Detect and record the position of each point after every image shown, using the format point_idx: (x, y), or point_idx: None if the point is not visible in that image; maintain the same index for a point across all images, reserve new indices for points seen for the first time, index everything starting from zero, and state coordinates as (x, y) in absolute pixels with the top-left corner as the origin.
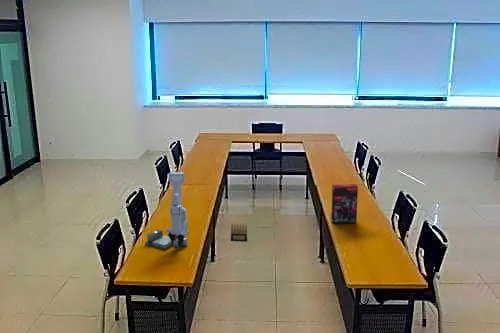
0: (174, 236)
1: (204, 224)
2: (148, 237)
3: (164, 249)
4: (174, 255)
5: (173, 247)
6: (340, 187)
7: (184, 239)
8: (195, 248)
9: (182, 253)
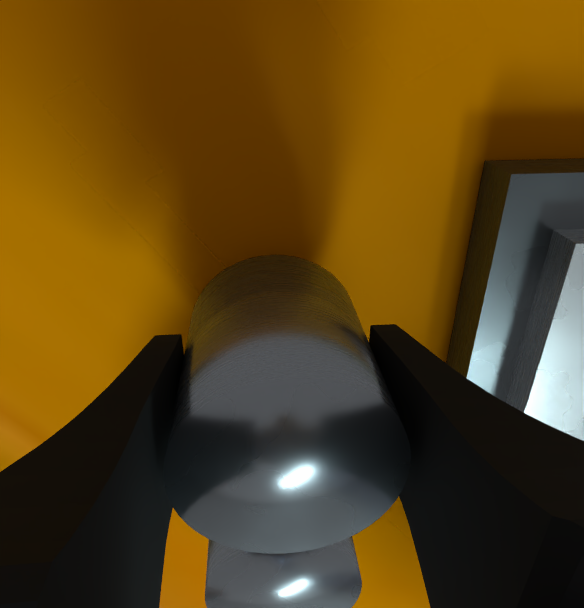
0: (433, 559)
1: None
2: None
3: (510, 162)
4: (111, 31)
5: (321, 269)
6: None
7: (233, 577)
8: None
9: (49, 228)
